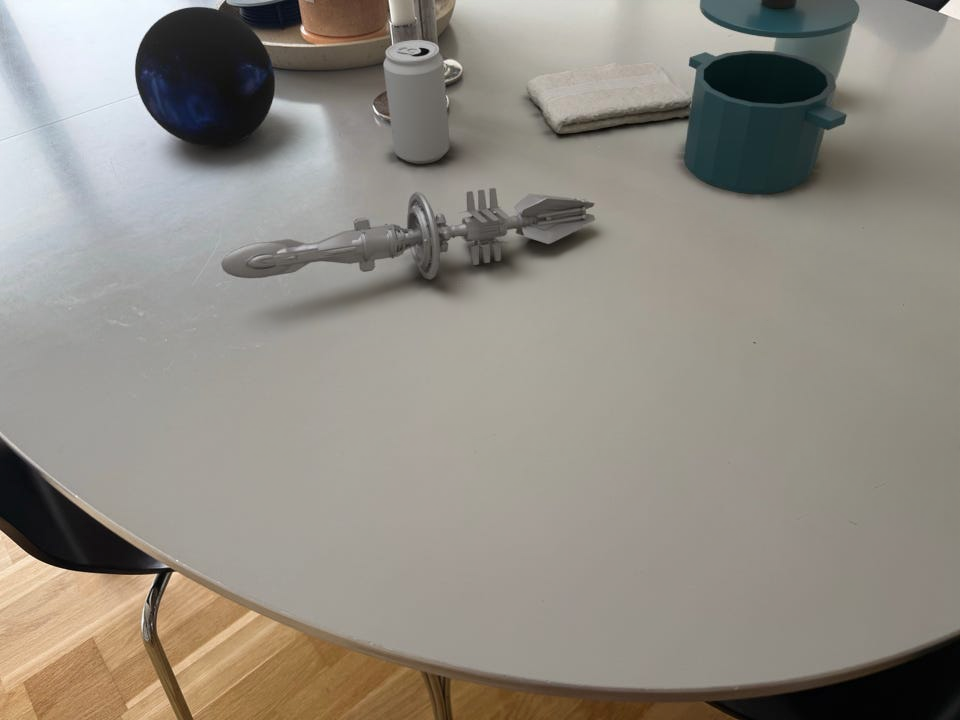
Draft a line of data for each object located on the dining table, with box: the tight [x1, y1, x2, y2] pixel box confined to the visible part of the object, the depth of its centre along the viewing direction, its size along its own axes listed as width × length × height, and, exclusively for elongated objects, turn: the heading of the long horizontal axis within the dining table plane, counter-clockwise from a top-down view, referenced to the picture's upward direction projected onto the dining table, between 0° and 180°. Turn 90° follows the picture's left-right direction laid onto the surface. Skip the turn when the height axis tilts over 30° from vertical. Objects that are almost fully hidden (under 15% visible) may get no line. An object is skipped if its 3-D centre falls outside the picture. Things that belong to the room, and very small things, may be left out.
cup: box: [772, 24, 854, 84], centre depth 96 cm, size 8×8×10 cm
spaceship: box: [220, 187, 596, 280], centre depth 74 cm, size 8×35×8 cm
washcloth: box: [525, 61, 693, 135], centre depth 99 cm, size 12×18×3 cm, turn 104°
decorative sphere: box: [134, 6, 276, 147], centre depth 93 cm, size 15×15×15 cm
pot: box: [683, 49, 848, 195], centre depth 86 cm, size 14×19×10 cm
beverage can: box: [382, 39, 451, 165], centre depth 89 cm, size 6×6×12 cm
